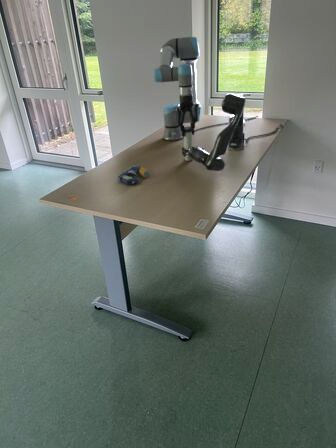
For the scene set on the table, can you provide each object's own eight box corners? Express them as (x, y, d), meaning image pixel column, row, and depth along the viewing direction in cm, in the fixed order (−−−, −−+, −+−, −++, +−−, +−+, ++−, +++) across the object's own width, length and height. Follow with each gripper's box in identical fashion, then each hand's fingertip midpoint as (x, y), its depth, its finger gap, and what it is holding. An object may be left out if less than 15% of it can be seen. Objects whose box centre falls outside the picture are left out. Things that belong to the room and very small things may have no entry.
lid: (187, 133, 196) (187, 129, 195) (180, 131, 200) (180, 128, 199) (194, 130, 199) (194, 127, 198) (188, 129, 203) (187, 125, 202)
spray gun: (155, 171, 194) (133, 169, 200) (154, 165, 192) (132, 163, 198) (137, 187, 179) (114, 184, 185) (136, 180, 176) (112, 177, 183)
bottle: (183, 160, 208) (182, 129, 198) (187, 157, 211) (186, 127, 201) (190, 161, 205) (189, 130, 196) (194, 158, 209) (193, 128, 199)
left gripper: (197, 91, 194) (198, 130, 206) (168, 96, 188) (171, 136, 200) (203, 92, 189) (204, 133, 201) (174, 98, 182) (176, 139, 194)
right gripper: (210, 146, 194) (196, 139, 207) (188, 152, 189) (175, 144, 203) (210, 159, 198) (196, 151, 211) (189, 164, 193) (176, 156, 207)
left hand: (187, 135), depth 200 cm, fingers closed on lid, 6 cm apart
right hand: (186, 148), depth 207 cm, fingers closed on bottle, 4 cm apart
